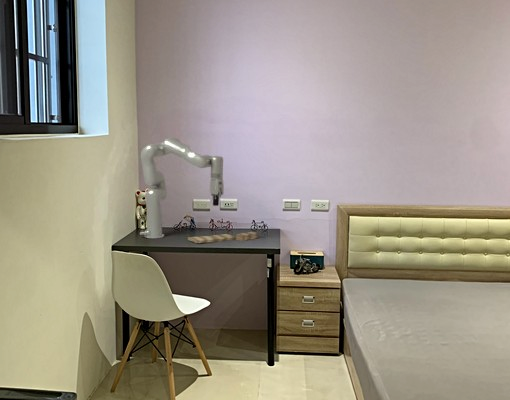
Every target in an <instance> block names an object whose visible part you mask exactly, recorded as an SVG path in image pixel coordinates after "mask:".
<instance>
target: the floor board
mask: <svg viewBox="0 0 510 400" xmlns="http://www.w3.org/2000/svg"><path fill="white" fill-rule="evenodd" d="M208 236H209V237H212V238H215V239H217V242H216V243H218V242H227V241H233V240H234V241H235V240H236V236H234V235H231V234H228V233H224V234H214V235H208ZM236 241H237V240H236Z"/></svg>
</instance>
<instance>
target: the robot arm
mask: <svg viewBox="0 0 510 400" xmlns="http://www.w3.org/2000/svg"><path fill="white" fill-rule="evenodd" d="M170 154H173V155H175V156H177V157H180V158H182V159H183V160H185V162H187V163H189V164H191V165H192V166H195V167H197V168H200V169H204V168H210V181H209V193H210V195H211V196H212V206H215V207H216V206H219V205H220V203H219V202H220V198H221V197H222V195H224V192H225V191H224V190H225V189H224V179H223V178H224V175H223V174H224V158H223V157H222V156H218V155H215V156H213V155H208V154H207V155H206V154H205V155H204V154H203V155H202V154H199V153H197V152H195V151H194V150H192V149H191V147H190V145H187V144H185V143H183V142H182V141H180V139H179V138H177V137H167V138H165V139H164V141H161V142H159V143H149V144H147V145H146V146H145V147H143V148H142V150H141V153H140V162H141V166H142V174H143V181H144V184H145V185H146V186H148V187H151V188H149V189H148V190H147V191H146V192H145V195H144V197H145V199H144V200H145V205H146V229H145V230H144V231H140V232H139V236H142V235H144V238H147V239H162V238H164V237H165V234H164V233H163V223H162V222H163V219H162V212H163V211H162V204H161V202H163V201H164V200H166V198H167V194H168V193H167V185H166V181H165V180H166V179H165V175H164V174H163V173H162V172H161V171H160V170H157V165H156V162H155V158H158V157H160V158H161V157H163V156H166V155H170Z"/></svg>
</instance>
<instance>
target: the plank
mask: <svg viewBox="0 0 510 400" xmlns="http://www.w3.org/2000/svg"><path fill="white" fill-rule="evenodd" d="M209 236H210V235H205V236H202V235H200V236H188V237H187V240H188V241H190V242H193V243H195V244H205V243H218V242H217V239H215V238H212V237H209Z"/></svg>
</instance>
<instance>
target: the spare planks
mask: <svg viewBox="0 0 510 400" xmlns="http://www.w3.org/2000/svg"><path fill="white" fill-rule="evenodd" d="M235 237H236V241H241V242H244V241H250V240H255V239H259V232H255V231H249V232H242V233H241V232H240V233H237V234H236V236H235Z"/></svg>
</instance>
